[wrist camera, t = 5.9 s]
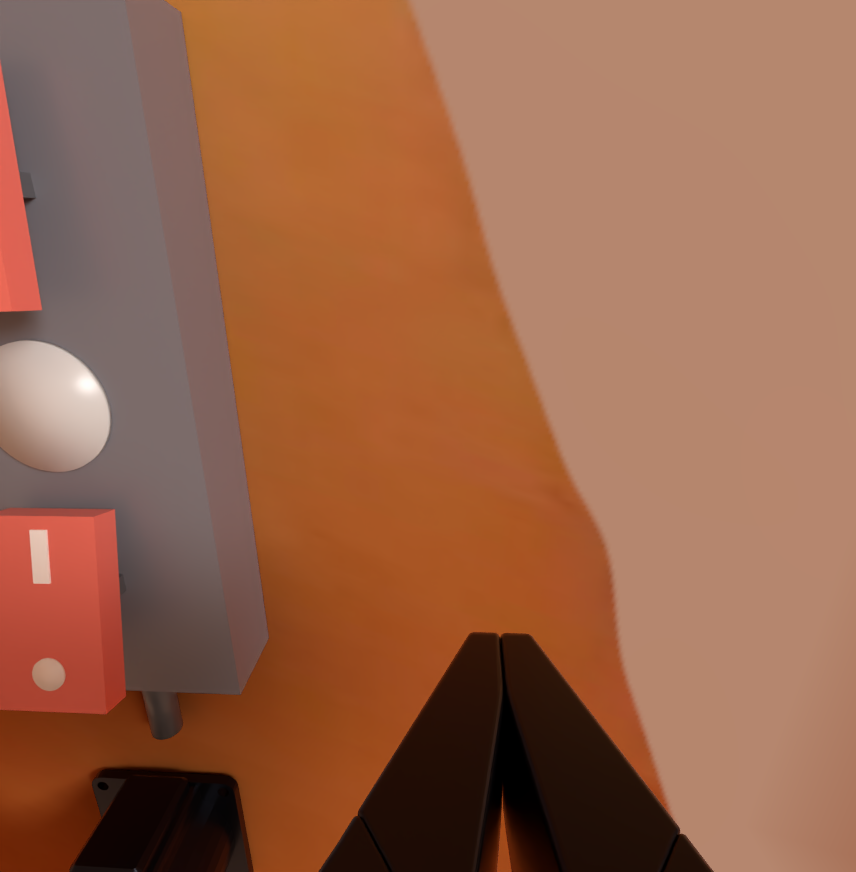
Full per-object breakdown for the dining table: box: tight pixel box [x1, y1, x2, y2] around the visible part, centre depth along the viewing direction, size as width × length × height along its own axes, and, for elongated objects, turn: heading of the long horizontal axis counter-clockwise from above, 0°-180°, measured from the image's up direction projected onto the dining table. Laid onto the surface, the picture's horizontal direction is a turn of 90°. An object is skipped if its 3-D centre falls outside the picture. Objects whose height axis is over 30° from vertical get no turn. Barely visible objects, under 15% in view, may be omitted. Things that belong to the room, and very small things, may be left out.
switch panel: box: [0, 0, 269, 740], centre depth 19 cm, size 25×9×4 cm, turn 1°
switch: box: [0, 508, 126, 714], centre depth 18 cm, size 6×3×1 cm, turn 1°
